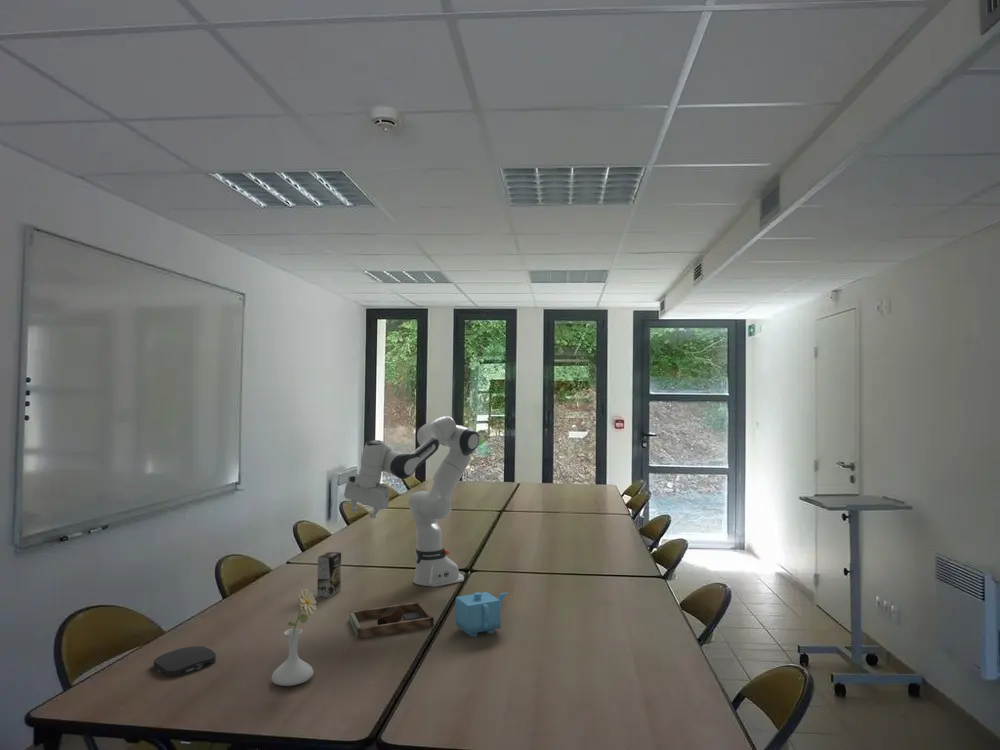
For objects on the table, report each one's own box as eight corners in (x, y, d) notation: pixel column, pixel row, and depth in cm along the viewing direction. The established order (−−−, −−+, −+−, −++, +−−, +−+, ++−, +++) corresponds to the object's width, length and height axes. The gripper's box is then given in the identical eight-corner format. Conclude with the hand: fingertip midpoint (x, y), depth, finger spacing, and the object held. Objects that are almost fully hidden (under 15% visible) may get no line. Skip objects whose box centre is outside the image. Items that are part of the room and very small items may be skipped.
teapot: (471, 642, 197) (471, 602, 197) (452, 626, 210) (452, 589, 211) (518, 632, 205) (518, 594, 206) (498, 617, 219) (497, 582, 219)
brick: (392, 618, 219) (392, 605, 219) (402, 620, 217) (402, 607, 218) (377, 629, 209) (377, 615, 209) (386, 630, 207) (386, 617, 208)
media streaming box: (198, 651, 191) (198, 641, 191) (220, 664, 182) (220, 654, 182) (149, 667, 180) (149, 657, 180) (169, 681, 170) (169, 670, 171)
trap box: (419, 609, 227) (419, 601, 227) (433, 626, 210) (433, 617, 211) (349, 620, 217) (349, 611, 217) (358, 638, 200) (358, 629, 200)
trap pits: (416, 612, 225) (416, 611, 225) (427, 625, 212) (427, 623, 212) (401, 614, 222) (401, 613, 222) (410, 627, 210) (410, 626, 210)
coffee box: (331, 597, 242) (331, 557, 242) (316, 596, 243) (317, 556, 244) (341, 590, 251) (341, 552, 251) (327, 589, 252) (327, 551, 253)
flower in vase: (289, 694, 162) (290, 601, 163) (262, 683, 168) (263, 594, 169) (326, 675, 173) (327, 588, 174) (300, 666, 179) (301, 582, 180)
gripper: (394, 486, 235) (388, 520, 235) (355, 474, 245) (349, 507, 245) (384, 487, 230) (378, 522, 230) (344, 475, 239) (339, 509, 239)
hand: (363, 514), depth 238 cm, fingers open, 8 cm apart
